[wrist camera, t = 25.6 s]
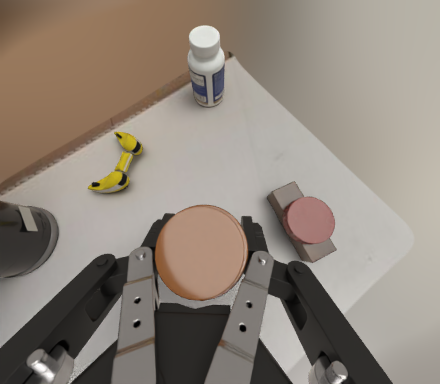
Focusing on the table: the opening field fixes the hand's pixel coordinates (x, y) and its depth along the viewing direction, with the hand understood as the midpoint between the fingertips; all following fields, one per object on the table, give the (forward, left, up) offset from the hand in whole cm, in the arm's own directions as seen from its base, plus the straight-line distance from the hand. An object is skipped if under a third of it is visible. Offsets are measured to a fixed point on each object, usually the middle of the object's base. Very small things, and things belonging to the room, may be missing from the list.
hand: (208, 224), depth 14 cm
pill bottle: (+9, +22, -12) cm, 27 cm away
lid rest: (+11, -4, -12) cm, 17 cm away
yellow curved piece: (-9, +15, -12) cm, 22 cm away
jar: (-1, -2, -4) cm, 5 cm away
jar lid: (+11, -4, -8) cm, 14 cm away
